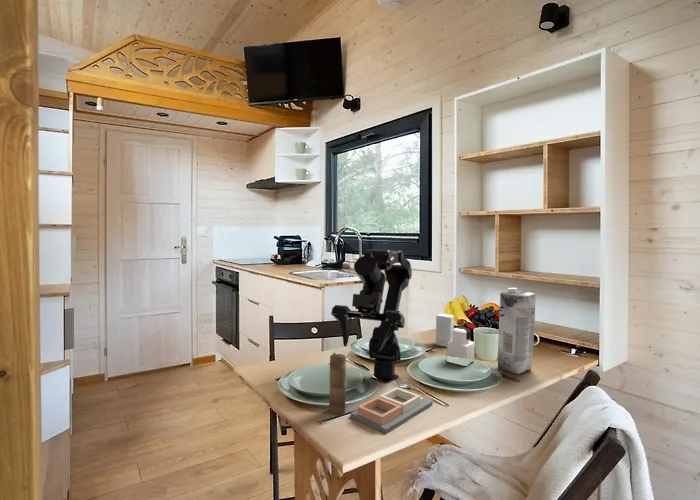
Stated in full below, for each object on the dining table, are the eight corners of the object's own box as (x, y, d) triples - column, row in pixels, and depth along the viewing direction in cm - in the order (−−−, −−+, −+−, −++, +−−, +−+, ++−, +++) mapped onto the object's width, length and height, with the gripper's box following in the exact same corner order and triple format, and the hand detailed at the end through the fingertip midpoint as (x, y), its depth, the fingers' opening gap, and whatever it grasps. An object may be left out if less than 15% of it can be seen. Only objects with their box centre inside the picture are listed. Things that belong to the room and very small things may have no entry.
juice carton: (535, 369, 132) (539, 289, 131) (518, 376, 126) (523, 292, 124) (510, 362, 139) (513, 285, 138) (493, 368, 133) (497, 288, 131)
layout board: (398, 392, 112) (398, 382, 112) (432, 405, 105) (432, 394, 104) (350, 417, 97) (350, 405, 97) (386, 433, 90) (386, 420, 90)
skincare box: (453, 345, 158) (454, 315, 157) (450, 347, 155) (451, 317, 154) (438, 342, 161) (439, 313, 161) (435, 344, 158) (436, 315, 157)
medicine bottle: (455, 357, 143) (456, 324, 142) (474, 362, 139) (475, 328, 138) (446, 362, 138) (447, 328, 137) (465, 367, 133) (467, 332, 132)
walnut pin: (337, 405, 103) (337, 352, 102) (348, 411, 101) (349, 356, 100) (325, 411, 100) (326, 356, 99) (337, 416, 98) (338, 360, 97)
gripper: (331, 276, 104) (316, 334, 97) (401, 281, 97) (391, 343, 91) (343, 293, 113) (331, 347, 106) (408, 298, 107) (400, 356, 100)
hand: (361, 348), depth 101 cm, fingers open, 9 cm apart
